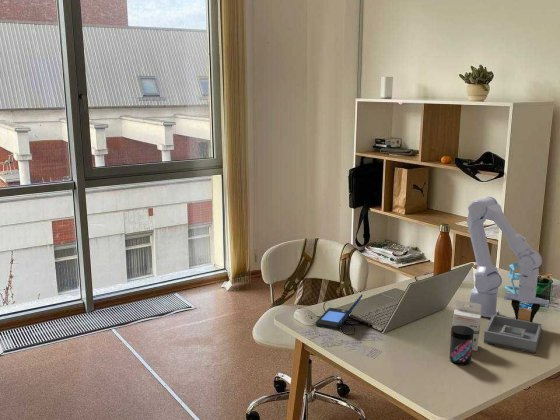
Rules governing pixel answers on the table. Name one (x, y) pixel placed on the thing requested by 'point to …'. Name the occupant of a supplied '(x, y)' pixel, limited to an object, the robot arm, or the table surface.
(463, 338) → the supplement container
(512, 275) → the chair
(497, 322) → the walled box
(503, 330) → the socket
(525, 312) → the orange brown rectangular block
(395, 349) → the table surface
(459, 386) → the table surface
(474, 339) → the ink box
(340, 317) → the black screen device
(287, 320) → the table surface
